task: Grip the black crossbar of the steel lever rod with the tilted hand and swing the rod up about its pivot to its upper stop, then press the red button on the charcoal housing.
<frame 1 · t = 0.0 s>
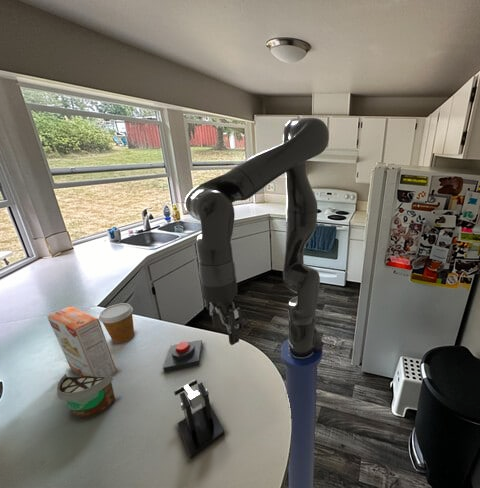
hand: (225, 334, 63), 24 cm above the table, tool pointing down, fingers open, 8 cm apart
cracker box: (93, 371, 79), on the table
disposable coffee cup: (123, 337, 93), on the table
food container: (89, 411, 67), on the table
lever: (190, 393, 63), point 9 cm above the table, hinge at -25.0°
bracket: (201, 430, 64), on the table
button: (182, 347, 83), point 4 cm above the table, slide at 0.1 cm
button box: (184, 357, 85), on the table
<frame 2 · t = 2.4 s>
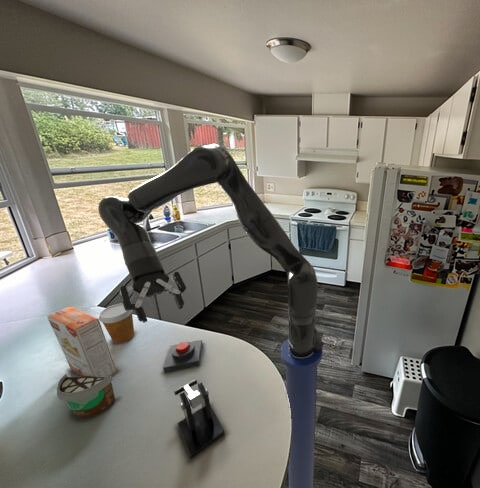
hand: (164, 314, 67), 25 cm above the table, tool tilted 40°, fingers open, 8 cm apart
nothing on the table moved.
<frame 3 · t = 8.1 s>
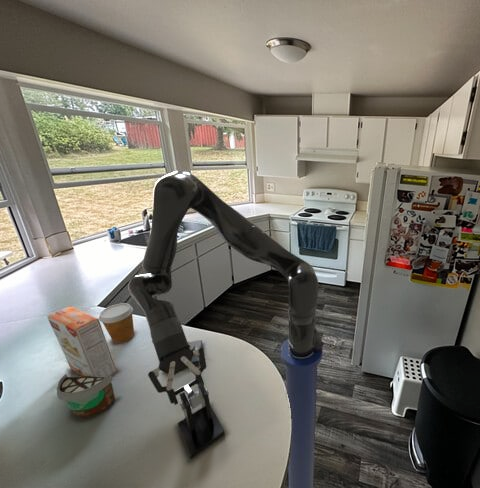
hand: (189, 396, 67), 5 cm above the table, tool tilted 45°, fingers closed on lever, 5 cm apart
lever: (190, 393, 63), point 9 cm above the table, hinge at -25.1°, touching gripper
everything else where it was.
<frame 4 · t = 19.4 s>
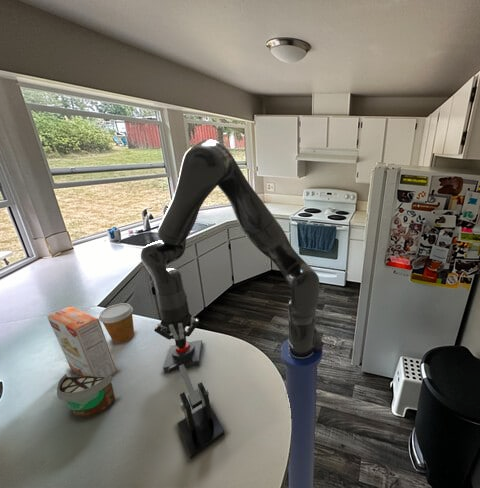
hand: (182, 346, 83), 5 cm above the table, tool pointing down, fingers closed
lever: (188, 382, 62), point 13 cm above the table, hinge at 19.8°
button: (182, 347, 83), point 4 cm above the table, slide at -0.1 cm, touching gripper
everything else where it was.
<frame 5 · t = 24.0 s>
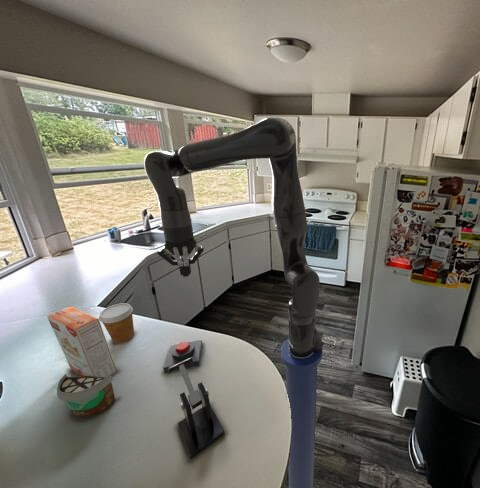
hand: (186, 275, 79), 29 cm above the table, tool pointing down, fingers closed
button: (182, 347, 83), point 4 cm above the table, slide at 0.1 cm
everything else where it was.
at the end: lever at +20° (first picture: -25°); button pushed in 1.1 cm at the most during the clip, back to where it started at the end; button slide at 0.1 cm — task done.
